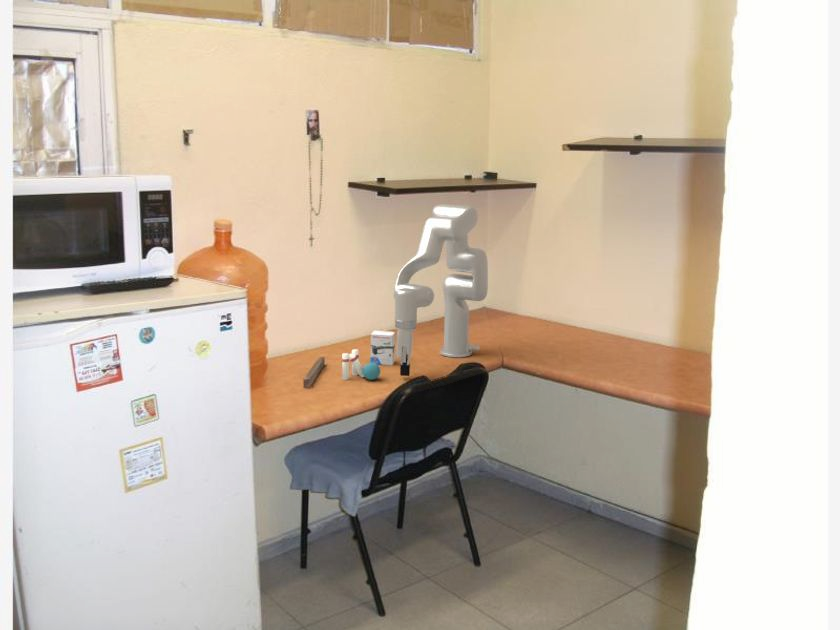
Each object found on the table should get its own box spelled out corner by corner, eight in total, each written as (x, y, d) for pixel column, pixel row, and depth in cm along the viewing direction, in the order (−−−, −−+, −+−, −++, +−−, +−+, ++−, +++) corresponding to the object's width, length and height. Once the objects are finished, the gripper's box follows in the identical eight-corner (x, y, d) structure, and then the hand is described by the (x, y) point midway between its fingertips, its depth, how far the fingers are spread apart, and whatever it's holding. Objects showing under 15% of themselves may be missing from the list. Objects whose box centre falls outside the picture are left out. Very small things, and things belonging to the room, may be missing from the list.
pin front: (367, 373, 282) (354, 351, 281) (366, 375, 280) (353, 353, 279) (361, 376, 283) (348, 355, 281) (360, 378, 280) (347, 357, 279)
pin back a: (359, 373, 286) (359, 349, 284) (358, 375, 283) (358, 351, 281) (352, 373, 286) (352, 349, 284) (351, 375, 283) (351, 351, 281)
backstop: (324, 364, 296) (324, 356, 295) (309, 387, 269) (309, 379, 268) (319, 364, 296) (319, 356, 295) (303, 387, 269) (303, 379, 268)
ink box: (370, 364, 298) (370, 333, 295) (372, 360, 303) (372, 330, 300) (392, 365, 297) (392, 334, 294) (394, 362, 301) (395, 331, 299)
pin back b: (349, 378, 280) (349, 353, 278) (348, 380, 278) (348, 355, 276) (342, 377, 281) (342, 353, 279) (341, 379, 278) (341, 354, 276)
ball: (361, 374, 282) (378, 376, 283) (361, 381, 276) (378, 383, 277) (364, 358, 280) (381, 361, 281) (364, 365, 274) (381, 368, 275)
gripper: (396, 318, 284) (396, 368, 288) (392, 328, 269) (392, 381, 273) (418, 319, 283) (417, 369, 287) (415, 329, 269) (414, 381, 273)
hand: (404, 375), depth 280 cm, fingers closed
